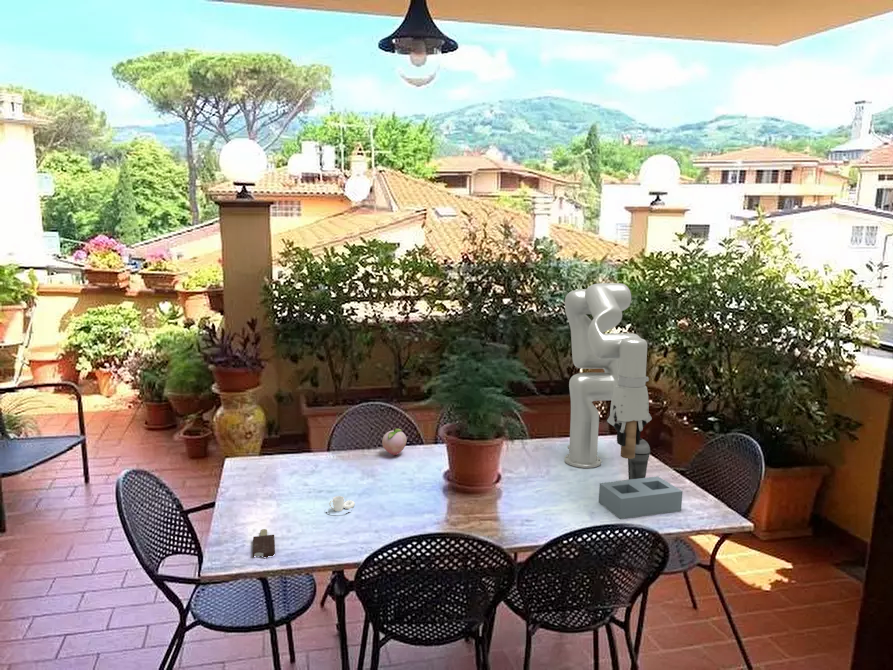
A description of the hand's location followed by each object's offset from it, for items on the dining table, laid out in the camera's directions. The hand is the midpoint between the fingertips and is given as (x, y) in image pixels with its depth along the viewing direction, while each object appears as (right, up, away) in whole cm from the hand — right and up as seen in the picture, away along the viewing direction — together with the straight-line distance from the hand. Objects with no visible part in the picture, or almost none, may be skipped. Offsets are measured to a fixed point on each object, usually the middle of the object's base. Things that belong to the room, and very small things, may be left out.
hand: (628, 443), depth 191 cm
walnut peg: (0, -4, +1) cm, 4 cm away
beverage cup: (+8, -17, +20) cm, 28 cm away
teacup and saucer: (-80, -20, 0) cm, 83 cm away
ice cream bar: (-99, -23, -20) cm, 103 cm away
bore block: (+5, -19, +5) cm, 20 cm away
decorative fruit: (-71, -12, +47) cm, 86 cm away
